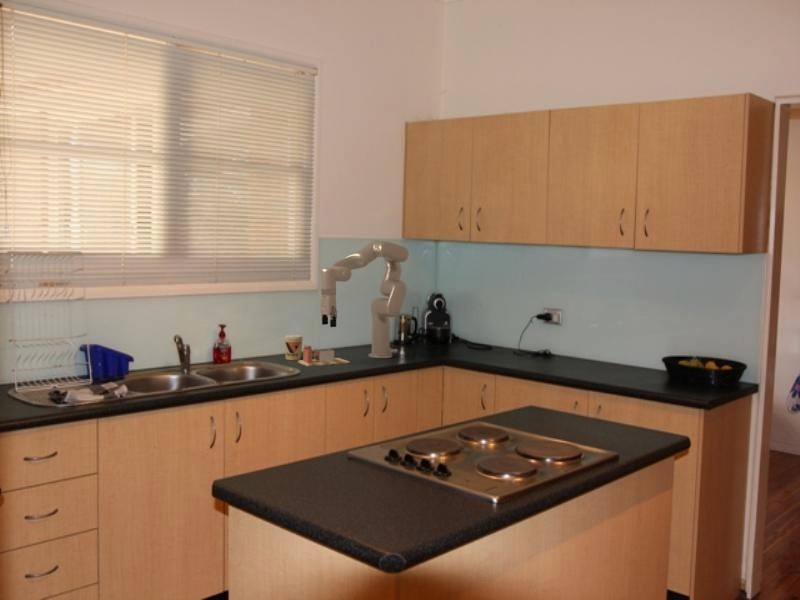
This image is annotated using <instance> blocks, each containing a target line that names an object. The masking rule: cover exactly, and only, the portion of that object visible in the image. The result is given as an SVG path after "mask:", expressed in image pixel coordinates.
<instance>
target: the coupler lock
mask: <svg viewBox="0 0 800 600" xmlns="http://www.w3.org/2000/svg"><path fill="white" fill-rule="evenodd" d="M313 351H314V353H313V354H315V353H319V356H318V357H313V359H314V360H315V361H317V362H334V358H335V350H333V349H330V348H323V349H314V350H313Z"/></svg>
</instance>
